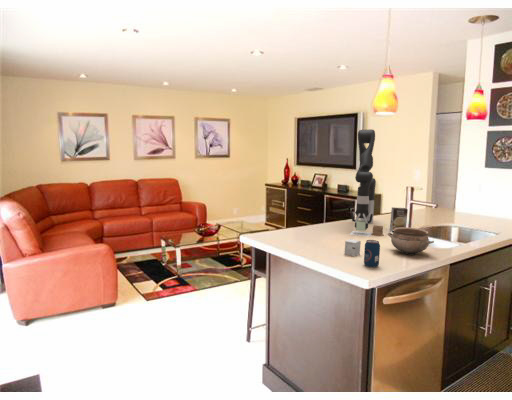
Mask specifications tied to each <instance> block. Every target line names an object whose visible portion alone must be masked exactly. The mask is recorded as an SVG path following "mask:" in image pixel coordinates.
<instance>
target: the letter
mask: <svg viewBox="0 0 512 400" xmlns="http://www.w3.org/2000/svg"><path fill="white" fill-rule="evenodd" d="M371 234H373V232H368V231H367V232H366V231H360V230H352V231H351V232H350V233H349V234H348V235H349V236H350V235H351V236H360V237H368V238H369V237H371V236H372V235H371Z"/></svg>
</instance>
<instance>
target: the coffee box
mask: <svg viewBox="0 0 512 400" xmlns="http://www.w3.org/2000/svg"><path fill="white" fill-rule="evenodd" d="M408 213H409V212H408V208H405V207H393V206H392V207H391V212H390V223H389V231H390V232H391V231H393V229H394V228H399V227H407V221H408Z"/></svg>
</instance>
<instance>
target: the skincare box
mask: <svg viewBox="0 0 512 400" xmlns="http://www.w3.org/2000/svg"><path fill="white" fill-rule="evenodd" d="M361 242H362V241H361V240H357V239H353V238H352V239H351V238H350V239H347V240H345V241H344V243H345V244H344V255H347V256H349V257H357V256H359V255H360V254H361V244H362V243H361Z"/></svg>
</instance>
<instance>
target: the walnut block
mask: <svg viewBox="0 0 512 400" xmlns="http://www.w3.org/2000/svg"><path fill="white" fill-rule="evenodd" d="M383 230H384V226H383V225H375V224H374V225H373V226H372V235H371V236H373V235H376V236H375V237H383V236H382V234H383ZM383 235H384V234H383Z"/></svg>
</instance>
